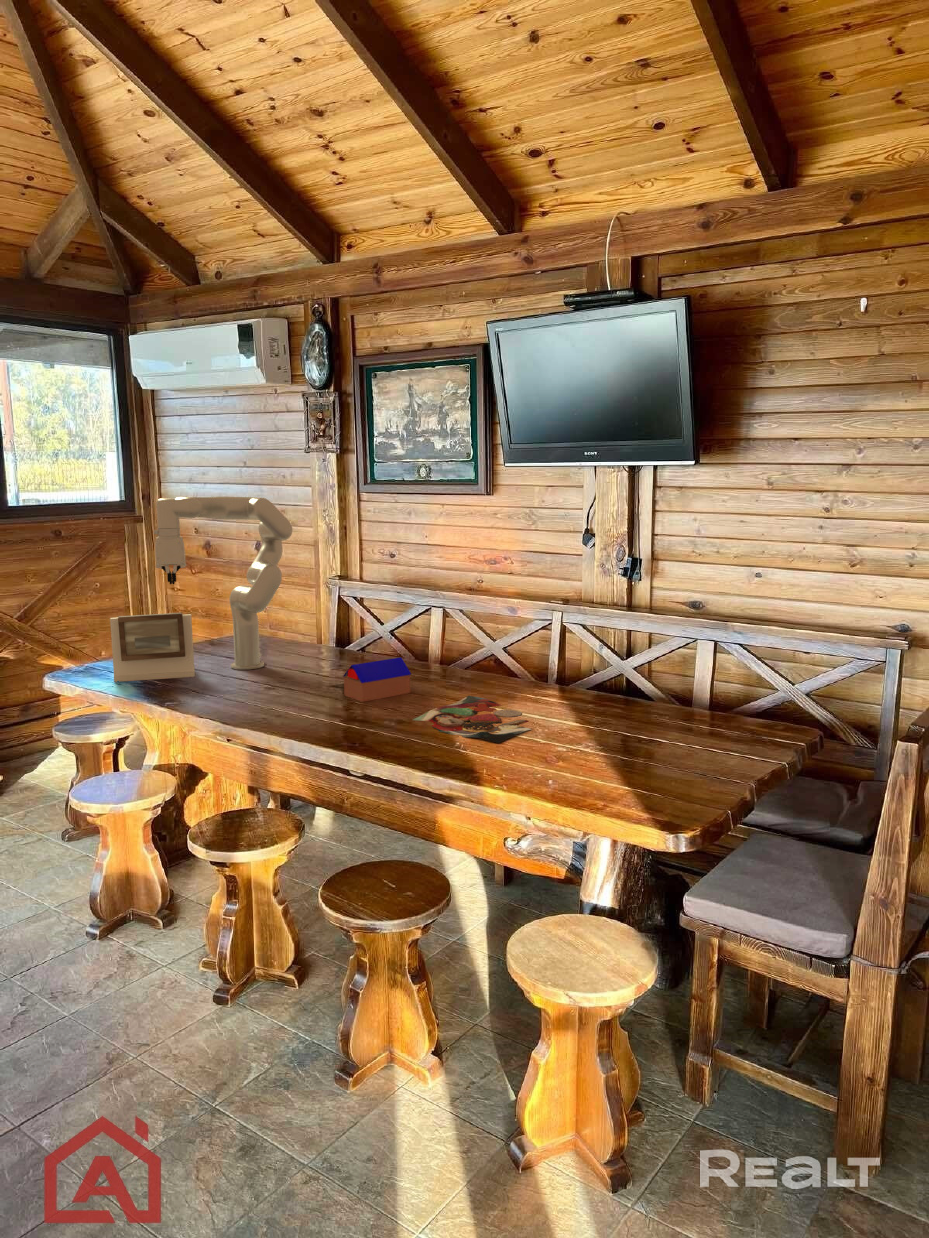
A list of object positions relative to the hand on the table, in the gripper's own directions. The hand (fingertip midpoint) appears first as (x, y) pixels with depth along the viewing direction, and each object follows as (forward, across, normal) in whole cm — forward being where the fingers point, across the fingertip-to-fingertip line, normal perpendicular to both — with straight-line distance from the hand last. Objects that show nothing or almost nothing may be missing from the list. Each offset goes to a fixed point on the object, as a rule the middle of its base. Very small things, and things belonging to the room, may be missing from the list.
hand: (172, 583), depth 330 cm
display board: (+35, -8, +5) cm, 36 cm away
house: (+36, +66, -45) cm, 88 cm away
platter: (+36, +91, -86) cm, 130 cm away
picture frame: (+27, -8, 0) cm, 28 cm away
